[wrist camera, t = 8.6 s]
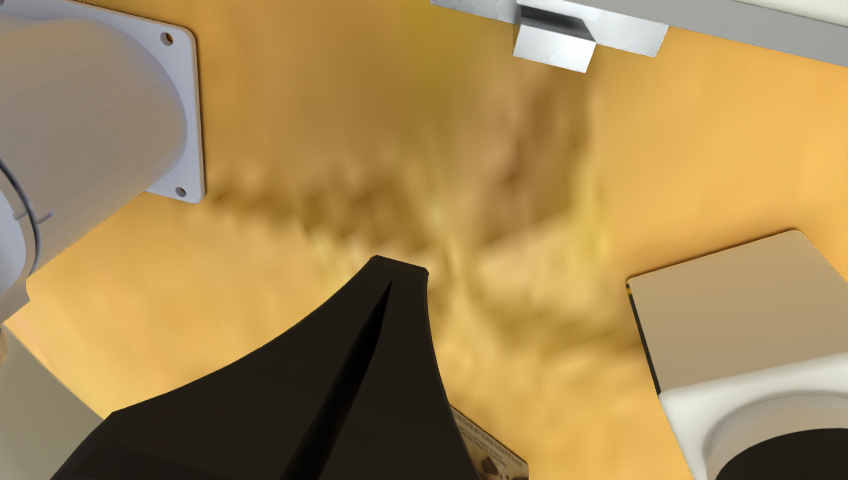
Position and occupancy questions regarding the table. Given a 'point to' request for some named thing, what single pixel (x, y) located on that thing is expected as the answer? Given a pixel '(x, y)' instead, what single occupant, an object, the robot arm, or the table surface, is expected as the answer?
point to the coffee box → (489, 453)
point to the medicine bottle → (751, 359)
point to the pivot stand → (565, 29)
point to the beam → (752, 22)
